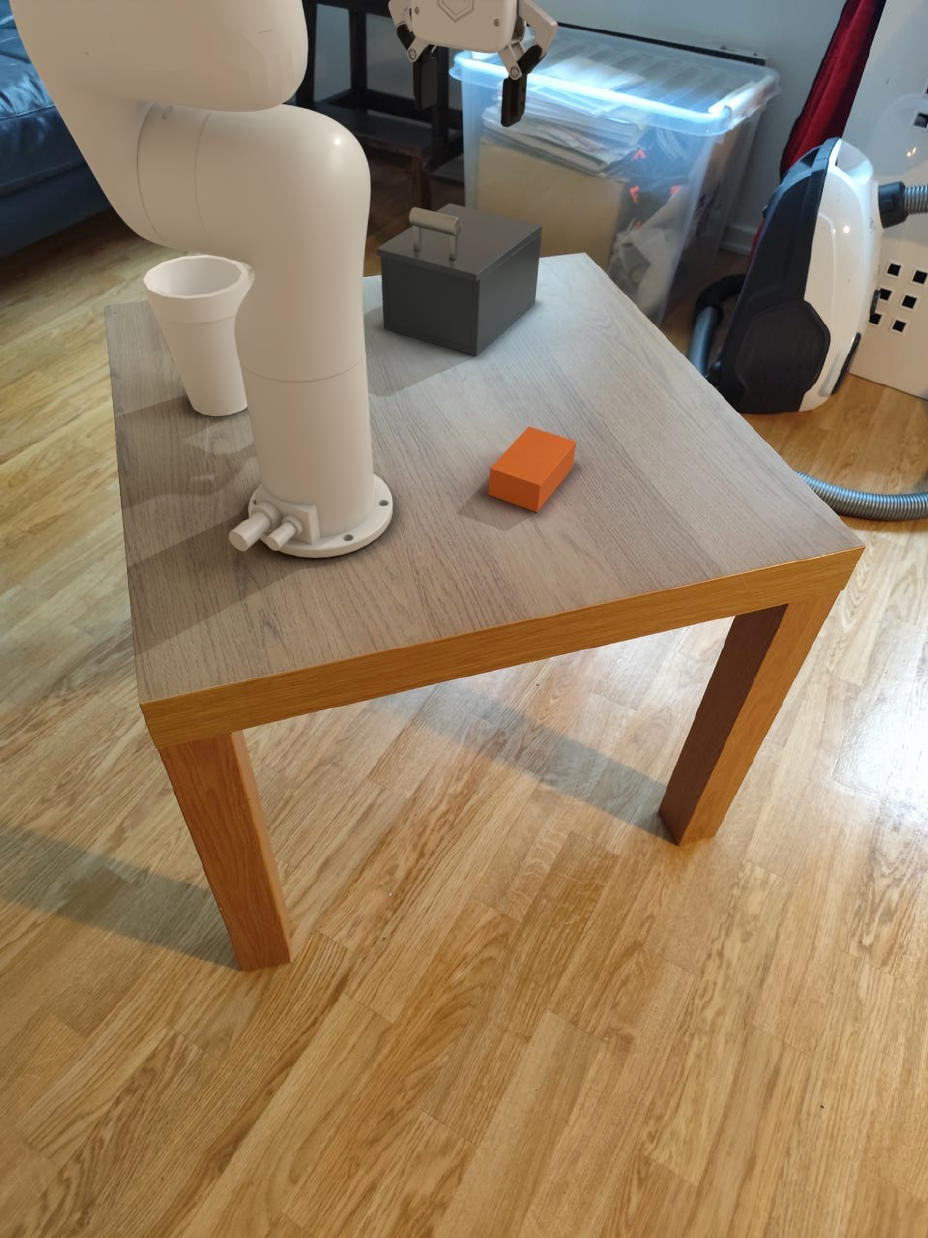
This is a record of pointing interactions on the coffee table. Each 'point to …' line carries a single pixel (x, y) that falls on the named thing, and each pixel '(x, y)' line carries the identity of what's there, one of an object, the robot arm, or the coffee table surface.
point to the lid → (458, 240)
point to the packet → (532, 468)
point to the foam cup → (202, 326)
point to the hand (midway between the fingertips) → (467, 114)
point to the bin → (459, 300)
